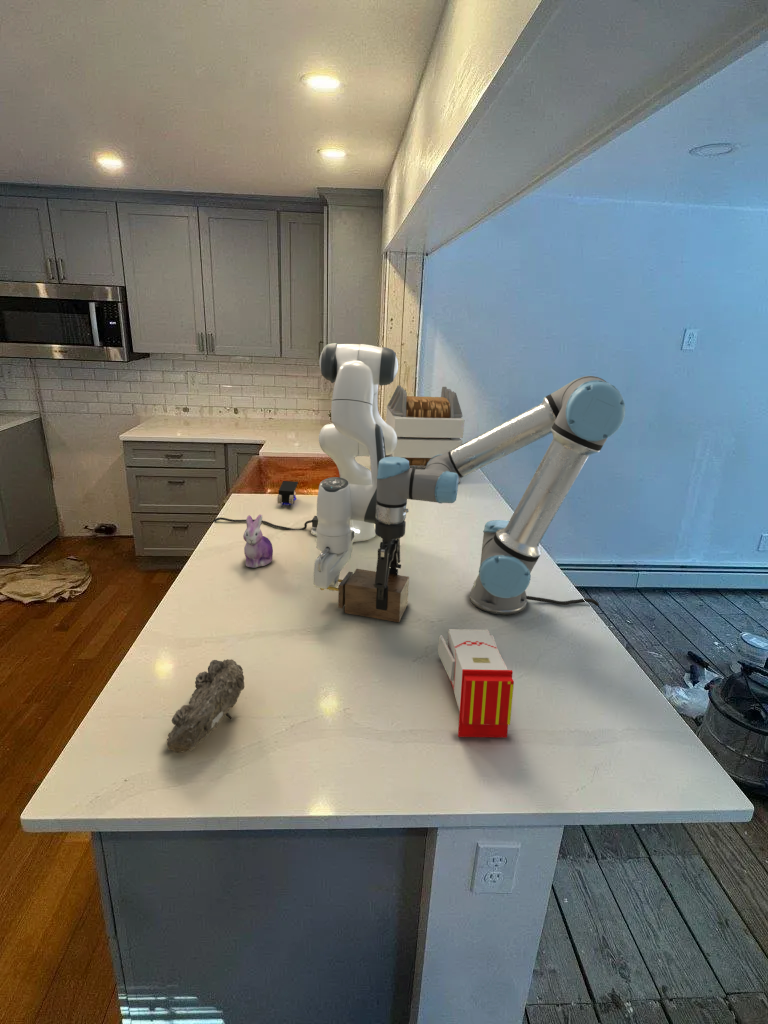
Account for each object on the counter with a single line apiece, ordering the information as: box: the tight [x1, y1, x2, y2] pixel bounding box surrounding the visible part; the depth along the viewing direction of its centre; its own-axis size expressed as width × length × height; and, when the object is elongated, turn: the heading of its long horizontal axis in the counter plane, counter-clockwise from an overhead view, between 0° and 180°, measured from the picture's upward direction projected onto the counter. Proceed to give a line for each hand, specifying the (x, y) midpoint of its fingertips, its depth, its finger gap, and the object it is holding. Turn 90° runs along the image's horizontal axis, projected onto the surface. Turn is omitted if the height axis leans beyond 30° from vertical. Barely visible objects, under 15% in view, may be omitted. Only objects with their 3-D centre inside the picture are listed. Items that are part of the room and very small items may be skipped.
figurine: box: [242, 514, 274, 569], centre depth 170 cm, size 9×10×15 cm
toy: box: [437, 628, 515, 738], centre depth 117 cm, size 12×13×30 cm
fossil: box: [166, 658, 245, 754], centre depth 106 cm, size 22×10×15 cm
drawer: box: [319, 571, 354, 609], centre depth 149 cm, size 19×8×7 cm, turn 75°
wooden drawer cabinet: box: [344, 568, 410, 623], centre depth 148 cm, size 14×10×8 cm, turn 75°
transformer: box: [385, 384, 465, 484], centre depth 268 cm, size 34×33×41 cm
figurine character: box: [276, 480, 299, 509], centre depth 224 cm, size 7×8×15 cm
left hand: (333, 588), depth 151 cm, fingers closed
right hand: (386, 599), depth 148 cm, fingers closed on wooden drawer cabinet, 10 cm apart
